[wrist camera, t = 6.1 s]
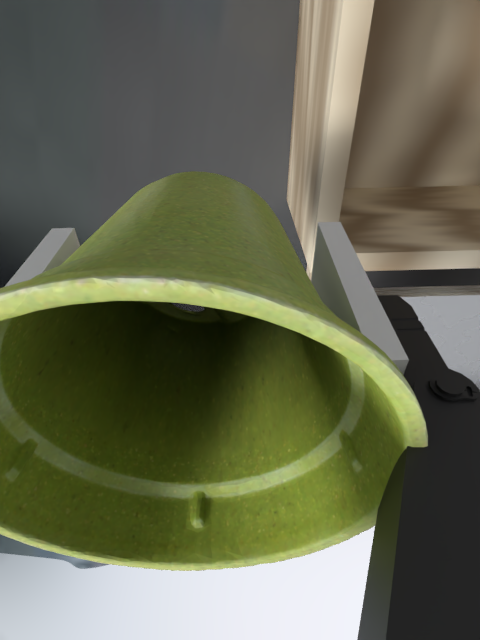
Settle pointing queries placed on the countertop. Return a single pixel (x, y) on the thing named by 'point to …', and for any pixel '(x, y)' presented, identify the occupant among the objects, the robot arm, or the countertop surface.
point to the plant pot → (191, 394)
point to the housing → (389, 130)
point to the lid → (448, 322)
